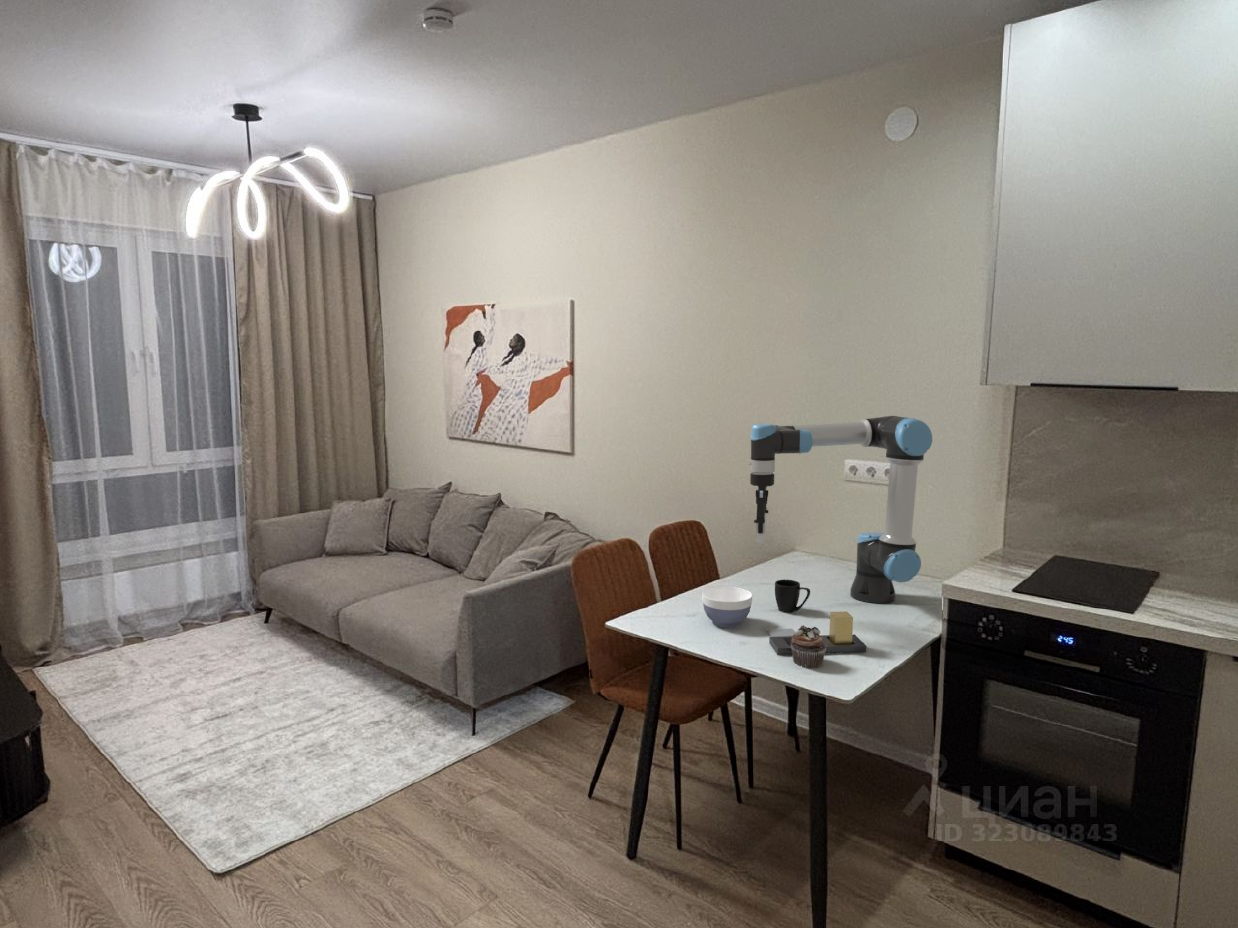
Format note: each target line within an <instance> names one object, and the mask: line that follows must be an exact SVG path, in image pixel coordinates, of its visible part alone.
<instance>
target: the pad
mask: <svg viewBox="0 0 1238 928" xmlns="http://www.w3.org/2000/svg"><path fill="white" fill-rule="evenodd" d="M766 631H767V633H768V634H769V635H770V636H769V637H782V636H793V635H794V634H795V632H796V631H795V630H794V628H767V629H766Z"/></svg>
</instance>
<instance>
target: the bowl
mask: <svg viewBox="0 0 1238 928" xmlns="http://www.w3.org/2000/svg"><path fill="white" fill-rule="evenodd" d="M701 596H702V597H701V598H702V601H701V602H702V605H703V610H704V612H705V615H706V616H707V618H708V619H710V621H711V622H712V624H713V625H714V626H716V627H720V628H729V629H730V628H736V627H739V626H740V625H741V624H742V622H744V621H745V620H746V619H747V617H748V616H749V614H750V612H751V607H752V603H753V602H752V601H753V594H752V592H751V591H749V590H747V589H743V588H740V587H735V586H715V587H714V586H713V587H708V588H706V589H704V590H703V591H702V593H701Z"/></svg>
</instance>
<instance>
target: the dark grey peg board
mask: <svg viewBox="0 0 1238 928" xmlns="http://www.w3.org/2000/svg"><path fill="white" fill-rule="evenodd" d="M819 635H820V634H819ZM820 636H821V637H822V638H823V643H824V644H825V646H826V651H825V653H826V654H827V653H830V654H856V653H857V654H858V653H859V654H860V653H862V654H865V653H867V645H866V644H865V642H863V641H862V640H861V639H860V638H859V637H858V636H857V635H856V634H852V645H833V644H832V643H831V642H830V641H829V634H827V635H826V634H825V635H820ZM792 637H793V636H782V637H771V636H769V637H768V638H769V639H768V641H769V642H768V643H769V645H770V647H771V648H772V649H773V651H774V652H775V654H776V655H777V656H788V655H792V649H791V641H792ZM826 654H825V655H826ZM827 655H828V654H827ZM792 656H793V655H792Z"/></svg>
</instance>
